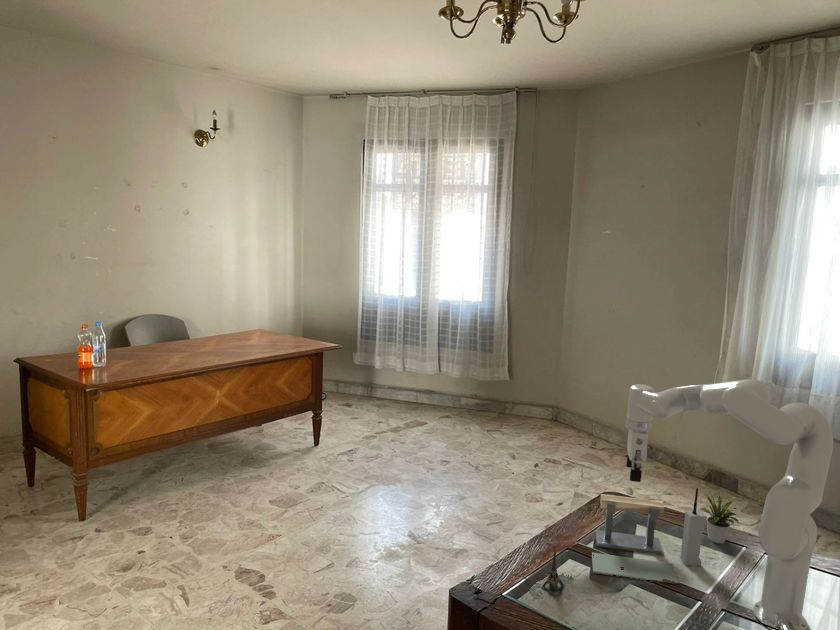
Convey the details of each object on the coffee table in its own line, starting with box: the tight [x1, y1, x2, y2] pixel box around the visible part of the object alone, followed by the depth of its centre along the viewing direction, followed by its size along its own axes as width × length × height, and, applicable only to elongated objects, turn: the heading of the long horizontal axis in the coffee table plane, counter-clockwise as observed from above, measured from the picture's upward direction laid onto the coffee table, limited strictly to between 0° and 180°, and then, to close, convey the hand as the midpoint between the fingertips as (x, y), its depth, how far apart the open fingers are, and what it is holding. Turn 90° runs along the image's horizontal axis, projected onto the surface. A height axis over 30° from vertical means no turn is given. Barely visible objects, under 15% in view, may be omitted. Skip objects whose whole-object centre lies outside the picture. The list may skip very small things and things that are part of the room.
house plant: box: [693, 492, 742, 544], centre depth 198 cm, size 14×14×16 cm
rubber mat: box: [591, 551, 679, 584], centre depth 183 cm, size 10×24×1 cm, turn 77°
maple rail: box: [599, 493, 665, 517], centre depth 193 cm, size 4×19×3 cm, turn 77°
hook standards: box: [595, 493, 664, 556], centre depth 195 cm, size 8×20×15 cm, turn 77°
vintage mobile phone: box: [680, 487, 708, 567], centre depth 184 cm, size 4×5×25 cm
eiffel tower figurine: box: [528, 546, 574, 599], centre depth 173 cm, size 15×10×13 cm
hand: (633, 474), depth 192 cm, fingers open, 9 cm apart
